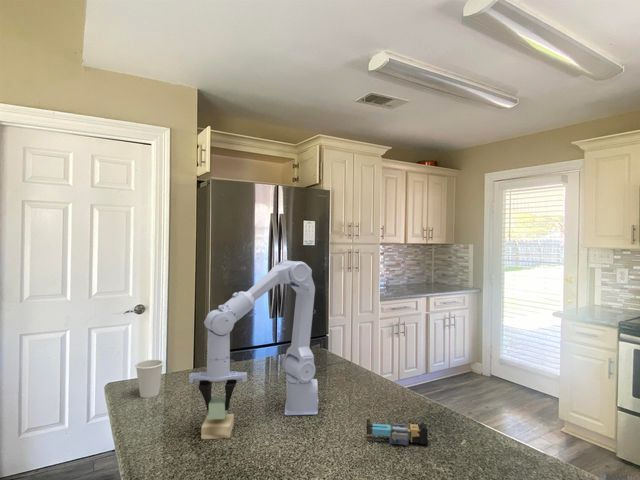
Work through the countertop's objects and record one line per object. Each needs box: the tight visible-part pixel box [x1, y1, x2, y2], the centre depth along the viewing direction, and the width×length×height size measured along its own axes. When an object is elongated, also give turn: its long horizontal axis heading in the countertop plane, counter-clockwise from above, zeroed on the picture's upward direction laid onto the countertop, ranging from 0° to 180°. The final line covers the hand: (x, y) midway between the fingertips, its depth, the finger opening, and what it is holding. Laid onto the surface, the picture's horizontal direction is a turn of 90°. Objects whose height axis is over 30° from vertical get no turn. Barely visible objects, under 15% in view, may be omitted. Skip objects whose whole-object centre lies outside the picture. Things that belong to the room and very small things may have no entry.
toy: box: [366, 418, 429, 447], centre depth 96 cm, size 6×4×15 cm
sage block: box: [208, 396, 228, 419], centre depth 100 cm, size 4×4×4 cm
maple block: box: [200, 413, 235, 440], centre depth 100 cm, size 7×7×3 cm
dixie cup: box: [135, 359, 164, 399], centre depth 124 cm, size 8×8×10 cm
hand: (218, 409), depth 100 cm, fingers closed on sage block, 4 cm apart
